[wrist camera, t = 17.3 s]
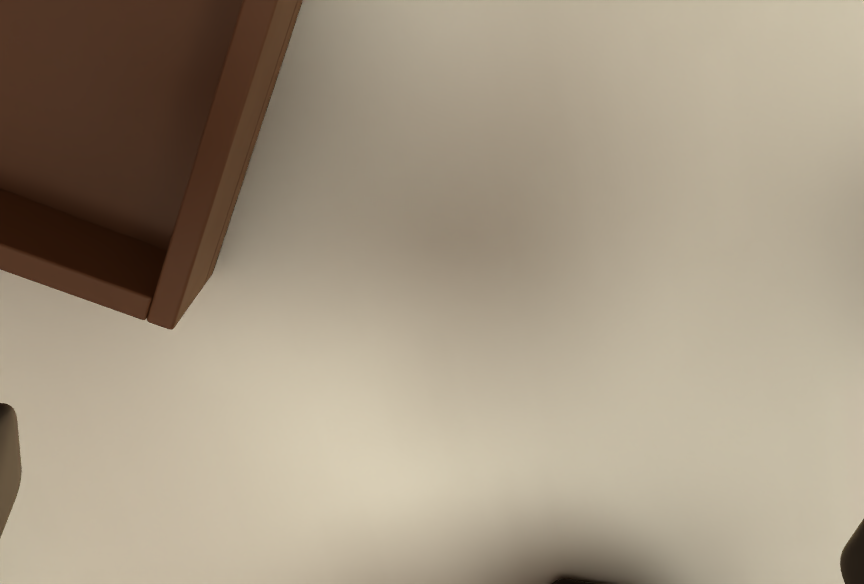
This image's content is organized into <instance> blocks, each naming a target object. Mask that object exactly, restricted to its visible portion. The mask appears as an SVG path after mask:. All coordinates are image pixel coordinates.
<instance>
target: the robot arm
mask: <svg viewBox="0 0 864 584" xmlns="http://www.w3.org/2000/svg"><path fill="white" fill-rule="evenodd" d="M21 472H22V470H21V457H20V446H19V435H18V424H17V416H16V413H15V411H14V409H13V408H12V407H11V406H10V405H8V404H4V403H0V538H1V535H2V532H3V530H4V527H5V525H6V522H7V520H8V517H9V514H10V512H11V509H12V507H13V504H14V502H15V499H16V496H17V493H18V490H19V486H20V481H21ZM840 566H841V572H842V576H843V579H844V582H845V584H864V519H863V521H862V522H861V523H860V525H859V526H858V528H857V529H856V531H855V532H854V534H853V535H852V537H851V538H850V540H849V541H848V543H847V544H846V546H845V547H844V549H843V551H842V554H841V560H840ZM553 584H593V583H588V582H582V581H576V580H570V579H561V580H558V581H556V582H554V583H553Z"/></svg>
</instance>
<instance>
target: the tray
mask: <svg viewBox="0 0 864 584" xmlns="http://www.w3.org/2000/svg"><path fill="white" fill-rule="evenodd" d="M302 1H303V0H0V269H1V270H4V271H7V272H9V273H12V274H15V275H18V276H21V277H23V278H26V279H29V280H32V281H35V282H38V283H40V284H43V285H46V286H49V287H52V288H54V289H57V290H60V291H63V292H66V293H68V294H71V295H74V296H77V297H80V298H83V299H85V300H88V301H91V302H94V303H97V304H99V305H102V306H105V307H108V308H111V309H113V310H116V311H119V312H122V313H125V314H128V315H130V316H133V317H136V318H139V319H142V320H145V319H146V318H147V321H148V322H150V323H153V324H156V325H158V326H161V327H164V328H167V329H173V328H174V327H175V326H176V324H177V323H178V321H179V320H180V319H181V317H182V316H183V314H184V313H185V312H186V310H187V309H188V307H189V306H190V304H191V303H192V302H193V300H194V299H195V297H196V296H197V295H198V293H199V292H200V290H201V289H202V288H203V286H204V285H205V284H206V282H207V281H208V279H209V278H210V276H211V275H212V273H213V270H214V267H215V264H216V261H217V258H218V255H219V252H220V249H221V246H222V243H223V240H224V237H225V234H226V231H227V228H228V225H229V222H230V219H231V216H232V213H233V210H234V207H235V204H236V201H237V198H238V195H239V192H240V189H241V186H242V183H243V180H244V177H245V174H246V171H247V168H248V165H249V161H250V158H251V155H252V152H253V149H254V146H255V143H256V140H257V137H258V134H259V131H260V128H261V125H262V122H263V119H264V116H265V113H266V110H267V107H268V104H269V101H270V98H271V95H272V92H273V89H274V86H275V83H276V80H277V77H278V74H279V71H280V68H281V65H282V62H283V59H284V56H285V53H286V50H287V47H288V43H289V40H290V37H291V34H292V31H293V28H294V25H295V22H296V19H297V16H298V13H299V10H300V7H301V4H302Z"/></svg>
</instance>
